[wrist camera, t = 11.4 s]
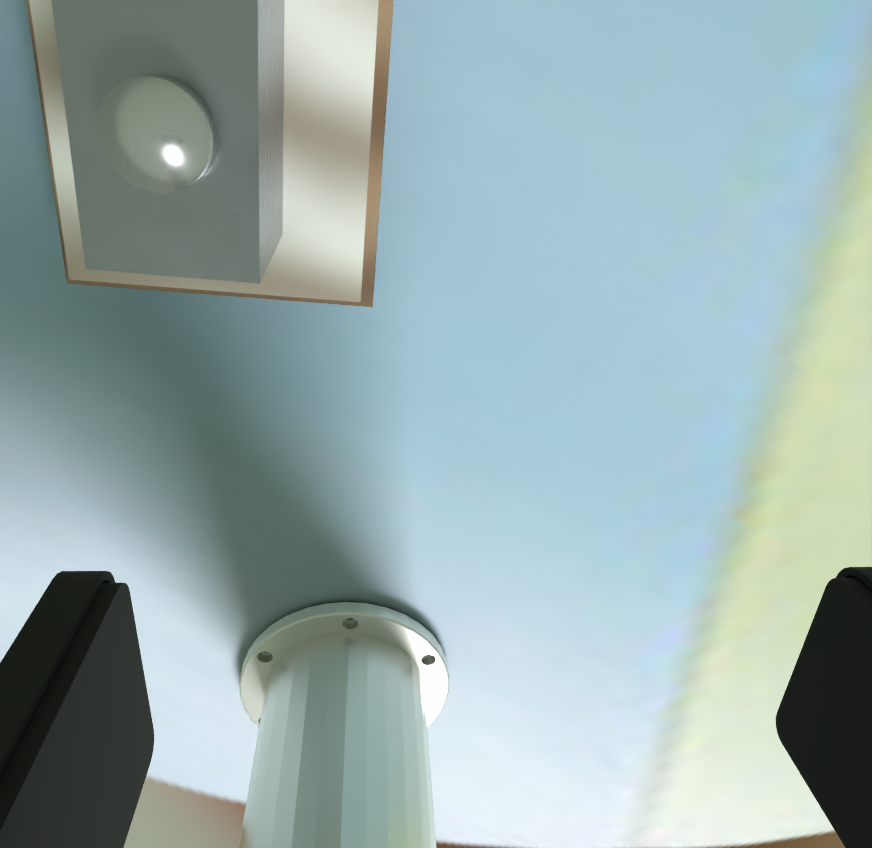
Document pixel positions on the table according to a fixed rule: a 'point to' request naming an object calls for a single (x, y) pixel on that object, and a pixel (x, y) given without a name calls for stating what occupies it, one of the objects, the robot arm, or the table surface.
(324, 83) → the stand
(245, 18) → the block
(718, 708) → the table surface
